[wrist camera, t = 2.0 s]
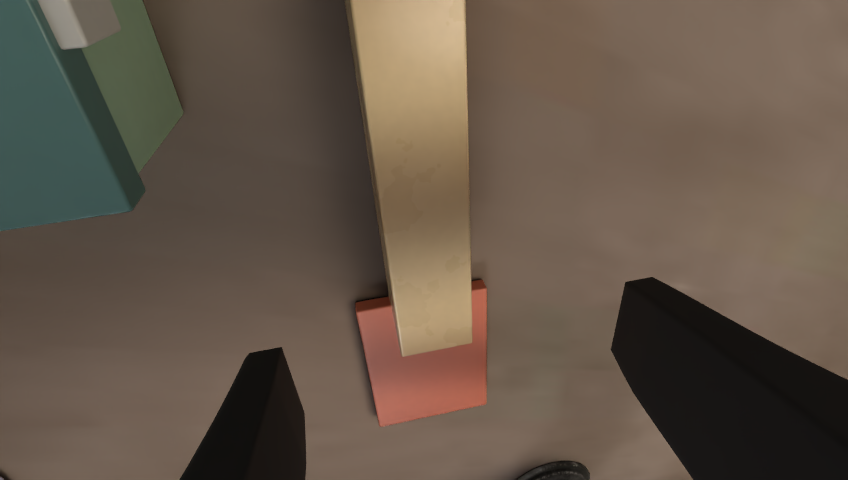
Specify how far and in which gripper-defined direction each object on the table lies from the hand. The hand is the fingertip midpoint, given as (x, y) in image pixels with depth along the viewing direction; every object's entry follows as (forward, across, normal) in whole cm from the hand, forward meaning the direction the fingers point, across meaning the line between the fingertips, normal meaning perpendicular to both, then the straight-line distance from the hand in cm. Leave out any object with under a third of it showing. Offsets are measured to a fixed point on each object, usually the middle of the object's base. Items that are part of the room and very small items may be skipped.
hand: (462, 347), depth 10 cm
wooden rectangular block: (+7, 0, +2) cm, 7 cm away
